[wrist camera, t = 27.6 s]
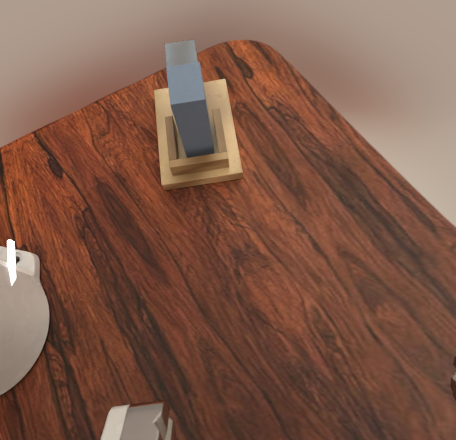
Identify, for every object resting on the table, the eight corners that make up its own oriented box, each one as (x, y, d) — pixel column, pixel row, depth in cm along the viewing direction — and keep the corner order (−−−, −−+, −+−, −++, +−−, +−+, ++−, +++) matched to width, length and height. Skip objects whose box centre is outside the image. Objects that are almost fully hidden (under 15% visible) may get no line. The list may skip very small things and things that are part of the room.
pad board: (164, 190, 43) (142, 147, 35) (156, 97, 49) (135, 40, 40) (242, 178, 43) (241, 132, 35) (226, 86, 49) (220, 27, 40)
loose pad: (187, 159, 43) (170, 104, 34) (183, 126, 45) (166, 66, 36) (214, 155, 43) (205, 99, 34) (209, 122, 45) (199, 61, 36)
